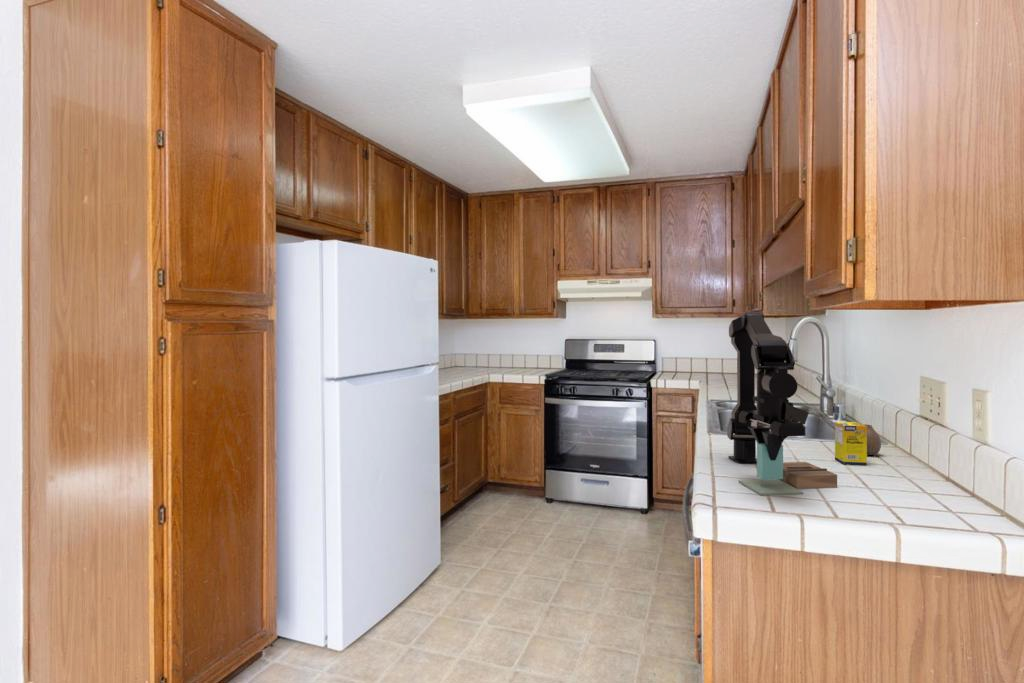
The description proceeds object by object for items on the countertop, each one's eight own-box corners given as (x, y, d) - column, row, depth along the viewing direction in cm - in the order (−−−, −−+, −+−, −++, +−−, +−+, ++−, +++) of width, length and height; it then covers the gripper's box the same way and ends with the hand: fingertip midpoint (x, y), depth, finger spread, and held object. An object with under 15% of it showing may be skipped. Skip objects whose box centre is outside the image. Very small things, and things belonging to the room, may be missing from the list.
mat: (738, 482, 128) (738, 480, 128) (777, 481, 129) (777, 479, 129) (760, 495, 118) (760, 493, 118) (803, 494, 119) (803, 491, 119)
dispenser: (768, 474, 135) (768, 461, 135) (805, 473, 136) (805, 460, 136) (796, 488, 123) (796, 474, 123) (837, 487, 124) (837, 473, 124)
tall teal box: (756, 476, 125) (757, 443, 125) (777, 476, 125) (777, 442, 125) (762, 479, 122) (762, 445, 122) (782, 479, 123) (783, 445, 123)
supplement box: (867, 465, 143) (867, 425, 142) (843, 464, 144) (843, 425, 143) (857, 460, 148) (857, 421, 148) (834, 459, 150) (834, 421, 149)
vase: (886, 457, 151) (886, 427, 151) (862, 457, 151) (862, 427, 151) (870, 451, 158) (870, 422, 158) (847, 451, 158) (847, 423, 158)
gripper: (829, 397, 114) (828, 468, 115) (780, 387, 133) (779, 448, 133) (780, 398, 114) (780, 470, 114) (737, 388, 132) (737, 449, 133)
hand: (769, 458), depth 124 cm, fingers closed on tall teal box, 2 cm apart
